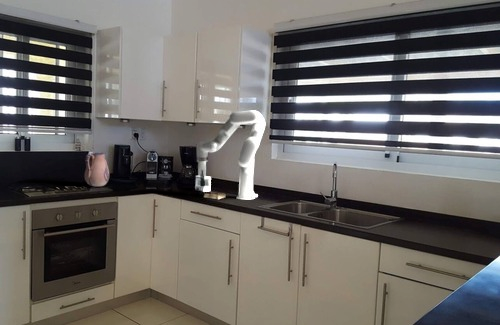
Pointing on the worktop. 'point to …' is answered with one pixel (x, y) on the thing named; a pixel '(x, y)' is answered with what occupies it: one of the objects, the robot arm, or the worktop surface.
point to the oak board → (215, 195)
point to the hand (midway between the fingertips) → (202, 185)
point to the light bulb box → (203, 188)
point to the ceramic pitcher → (96, 169)
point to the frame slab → (200, 180)
